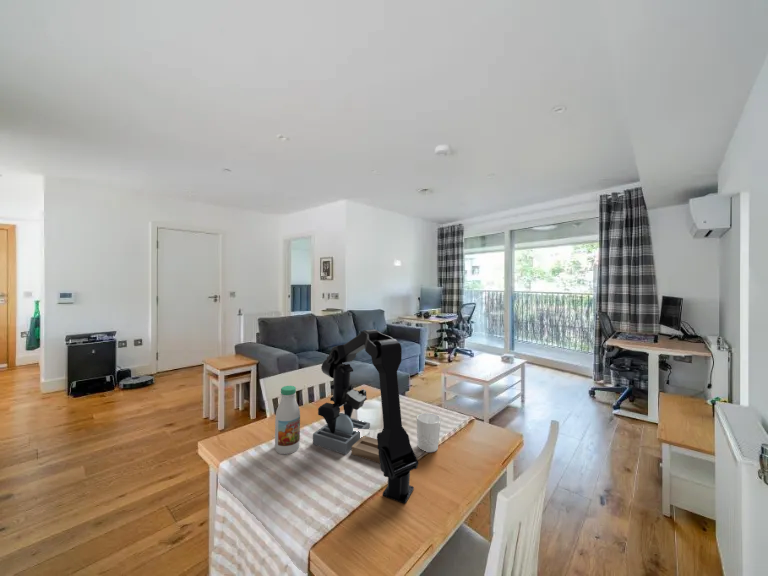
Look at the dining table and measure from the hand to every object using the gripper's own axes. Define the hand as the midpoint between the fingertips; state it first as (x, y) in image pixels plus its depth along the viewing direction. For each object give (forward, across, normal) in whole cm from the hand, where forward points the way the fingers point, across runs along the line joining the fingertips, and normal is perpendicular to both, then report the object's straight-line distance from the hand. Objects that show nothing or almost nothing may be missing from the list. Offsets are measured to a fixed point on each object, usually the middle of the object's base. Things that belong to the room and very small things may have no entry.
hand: (340, 426), depth 109 cm
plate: (+4, 0, 0) cm, 5 cm away
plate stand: (+4, -2, -14) cm, 15 cm away
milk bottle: (+5, -13, +12) cm, 18 cm away
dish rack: (+4, +1, 0) cm, 5 cm away
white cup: (+5, +10, -28) cm, 30 cm away
